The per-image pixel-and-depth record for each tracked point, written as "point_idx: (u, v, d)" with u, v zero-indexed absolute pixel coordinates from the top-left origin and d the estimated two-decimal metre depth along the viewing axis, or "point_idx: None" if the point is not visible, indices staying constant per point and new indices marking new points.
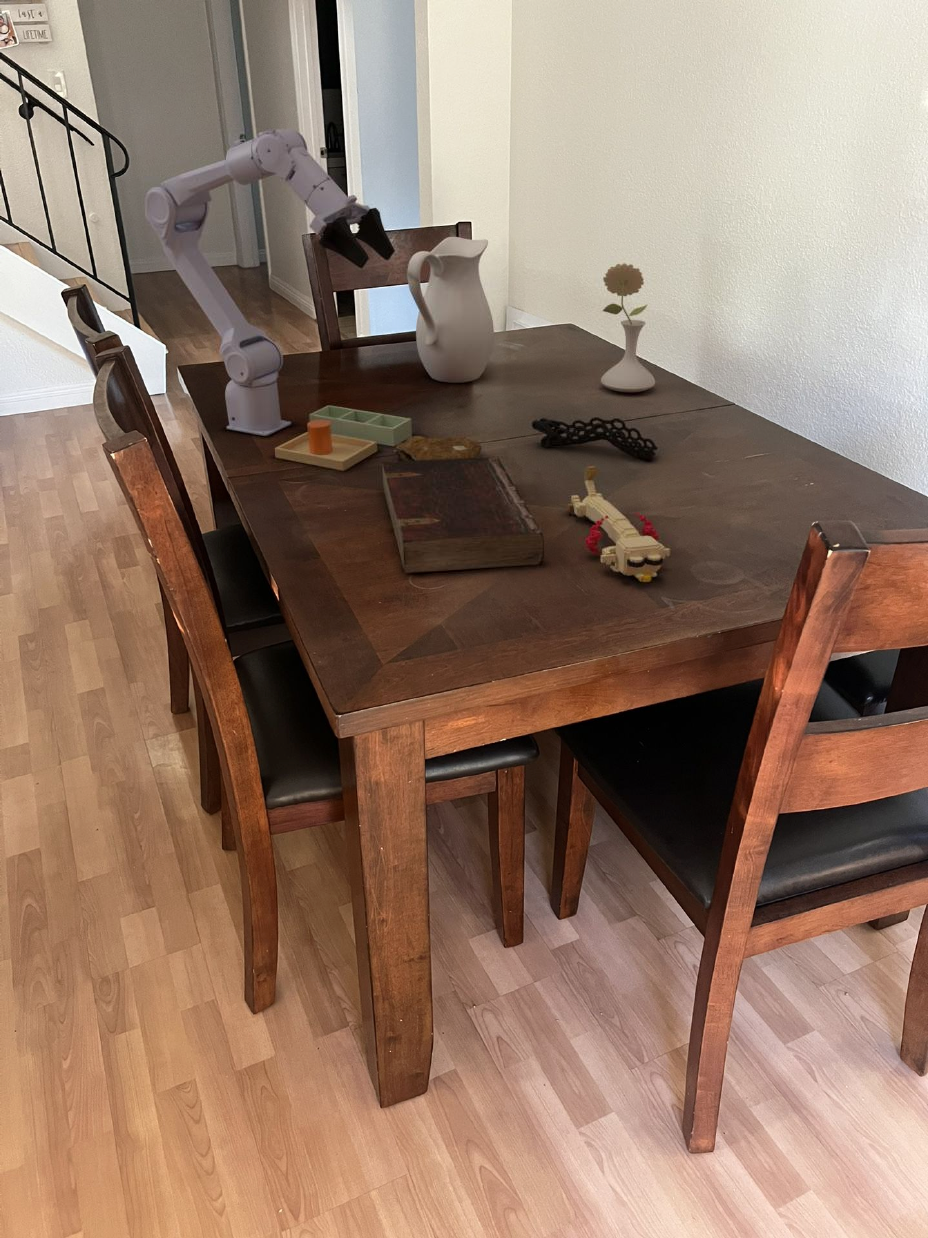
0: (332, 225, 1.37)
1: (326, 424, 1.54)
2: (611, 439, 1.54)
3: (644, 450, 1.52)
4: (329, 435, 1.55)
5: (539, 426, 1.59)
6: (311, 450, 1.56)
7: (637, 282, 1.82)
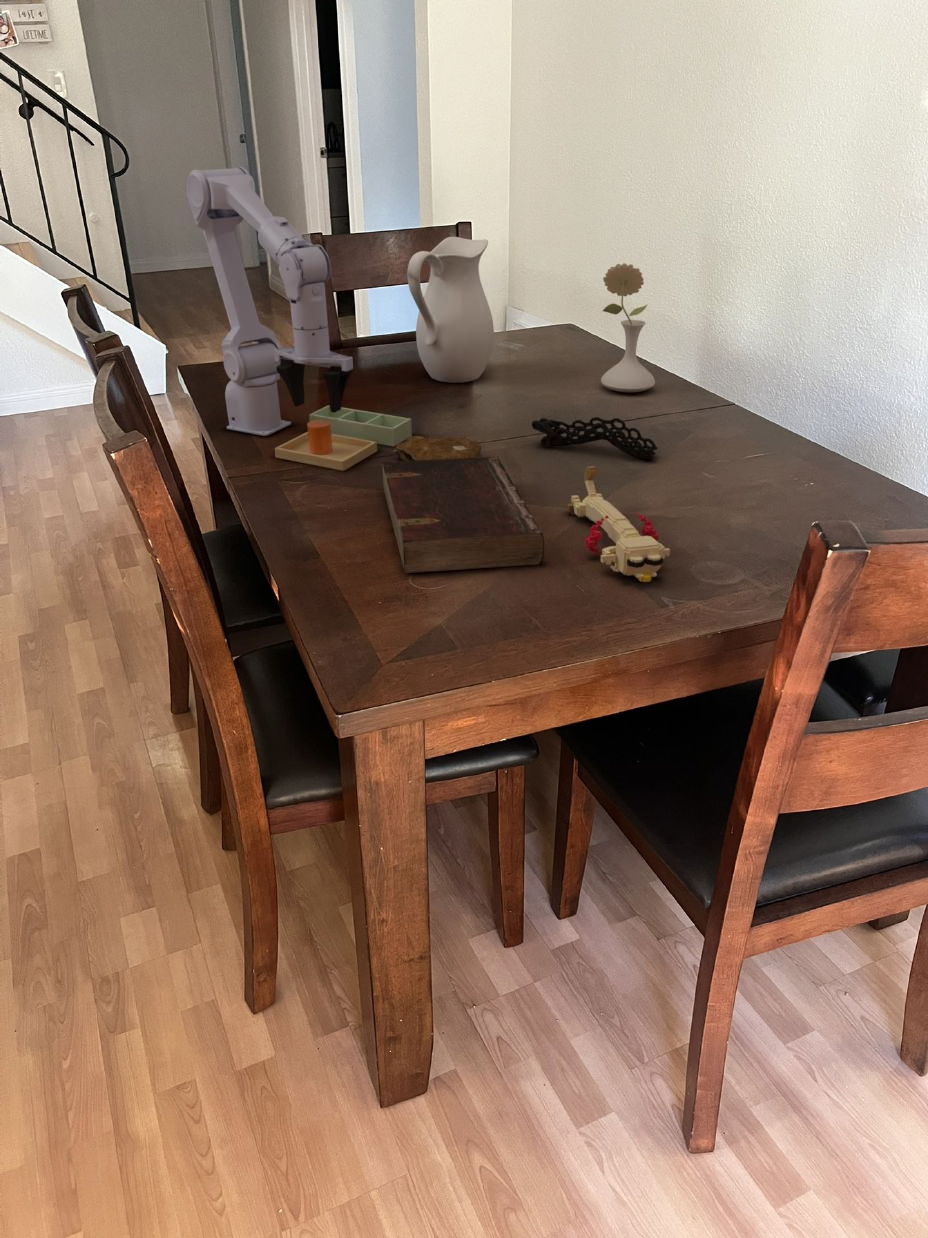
0: None
1: (326, 424, 1.54)
2: (611, 439, 1.54)
3: (644, 450, 1.52)
4: (329, 435, 1.55)
5: (539, 426, 1.59)
6: (311, 450, 1.56)
7: (637, 282, 1.82)
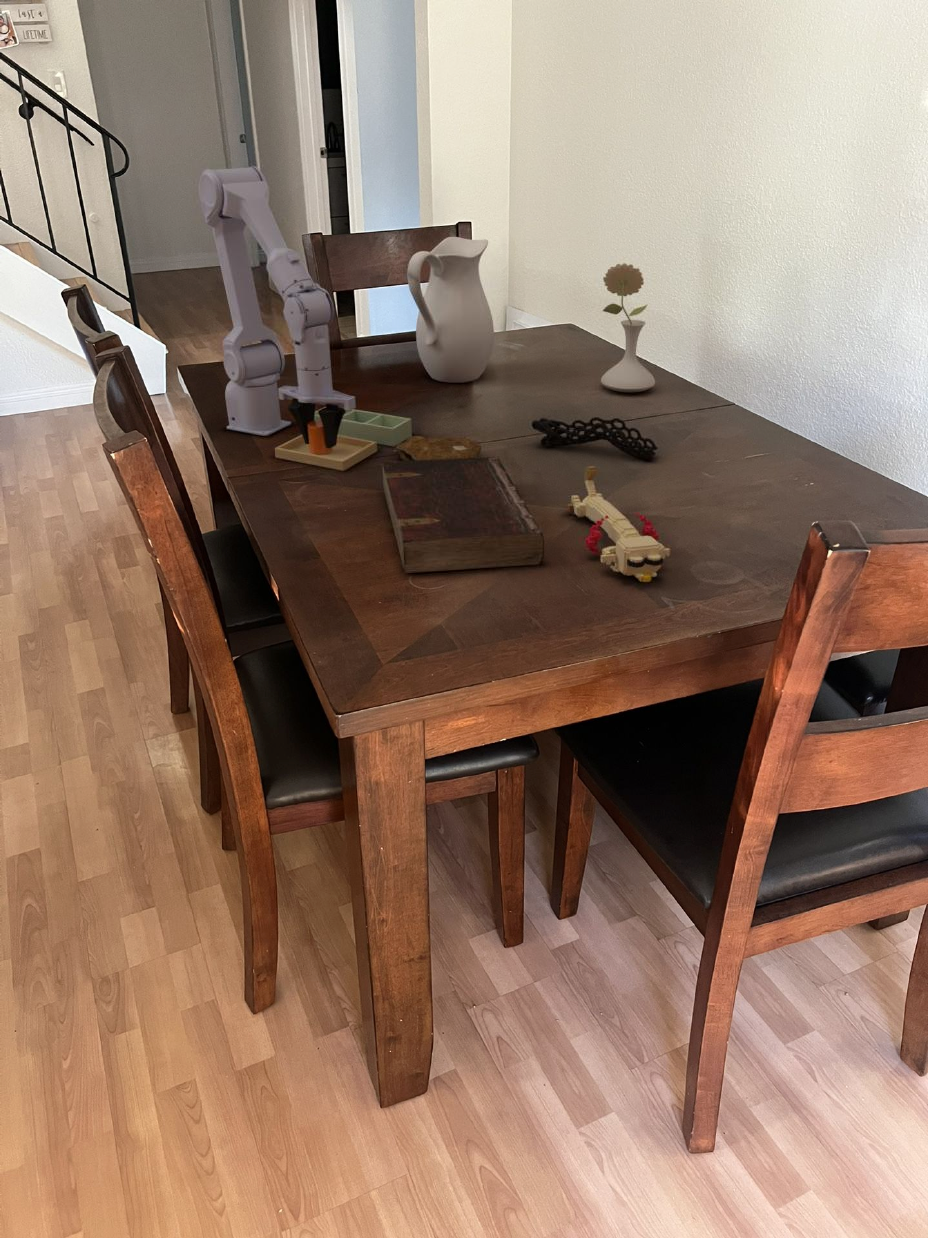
0: None
1: None
2: (611, 439, 1.54)
3: (644, 450, 1.52)
4: None
5: (539, 426, 1.59)
6: (311, 450, 1.56)
7: (637, 282, 1.82)
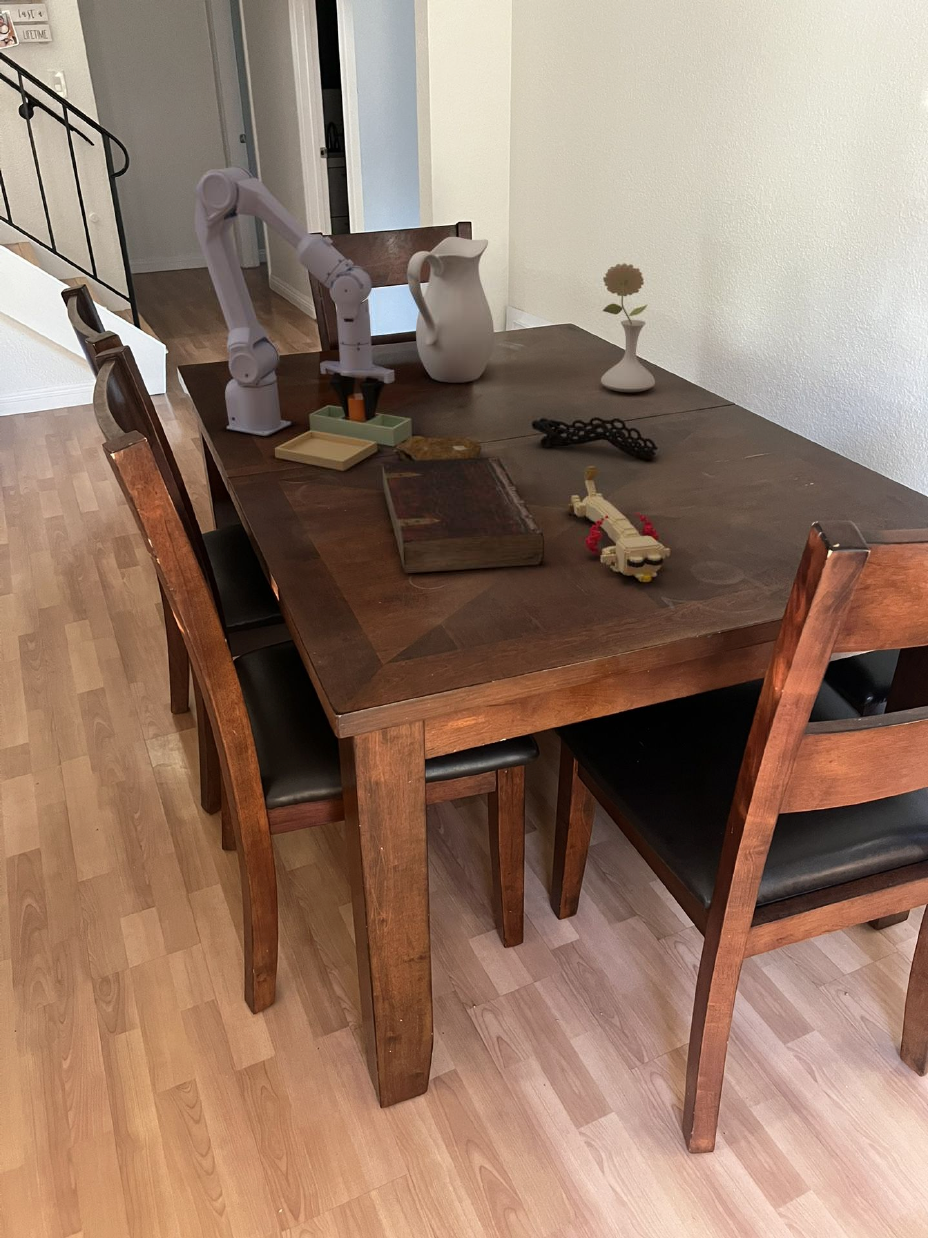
0: None
1: None
2: (611, 439, 1.54)
3: (644, 450, 1.52)
4: None
5: (539, 426, 1.59)
6: None
7: (637, 282, 1.82)
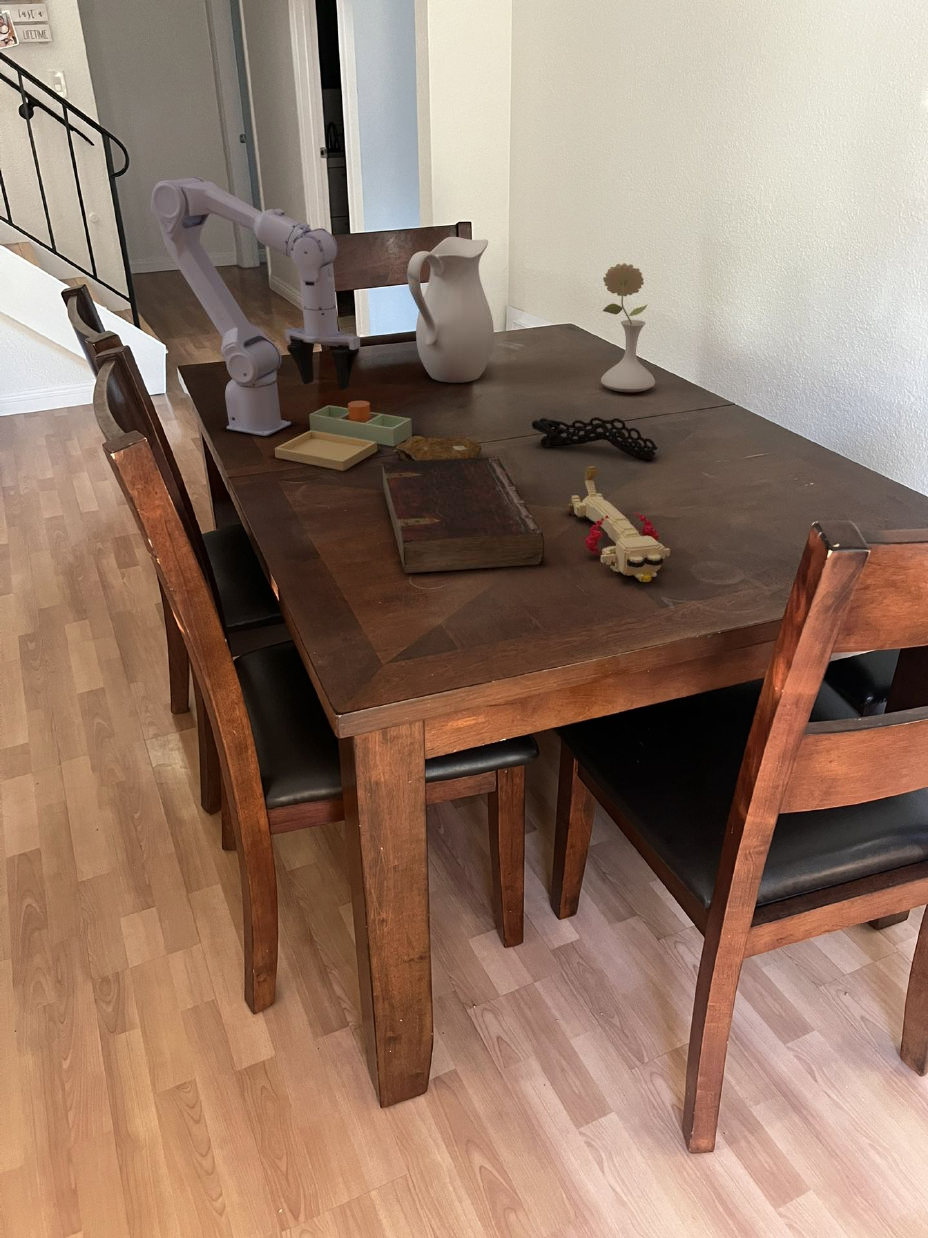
0: None
1: (366, 404, 1.63)
2: (611, 439, 1.54)
3: (644, 450, 1.52)
4: (368, 415, 1.64)
5: (539, 426, 1.59)
6: None
7: (637, 282, 1.82)
